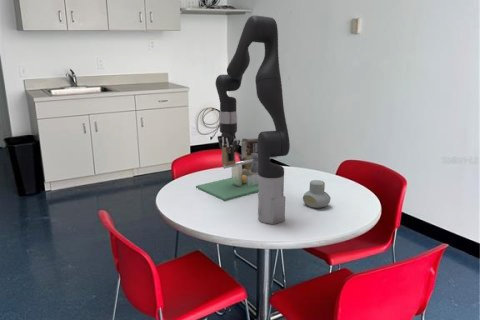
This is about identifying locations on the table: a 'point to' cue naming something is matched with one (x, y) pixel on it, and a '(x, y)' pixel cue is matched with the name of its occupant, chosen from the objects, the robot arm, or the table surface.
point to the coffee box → (248, 151)
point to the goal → (251, 177)
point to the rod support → (254, 163)
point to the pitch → (227, 189)
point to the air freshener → (316, 195)
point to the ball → (244, 179)
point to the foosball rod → (235, 165)
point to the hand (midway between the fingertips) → (228, 160)
